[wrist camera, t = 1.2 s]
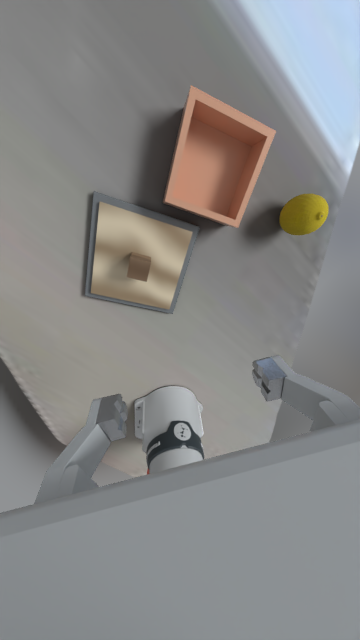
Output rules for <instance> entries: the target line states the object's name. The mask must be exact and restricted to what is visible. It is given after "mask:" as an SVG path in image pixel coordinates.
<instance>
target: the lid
mask: <svg viewBox="0 0 360 640" xmlns="http://www.w3.org/2000/svg"><path fill="white" fill-rule="evenodd" d="M192 233H193V232H191V231H188V230H185V229H182V228H179V227H176V226H173V225H170V224H167V223H164V222H161V221H158V220H155V219H152V218H149V217H146V216H143V215H140V214H137V213H134V212H131V211H128V210H125V209H122V208H118V207H115V206H112V205H109V204H106V203H103V202H100V203H99V213H98V224H97V234H96V244H95V254H94V265H93V275H92V285H91V293H93V294H98V295H103V296H107V297H112V298H117V299H122V300H126V301H131V302H136V303H140V304H145V305H150V306H155V307H159V308H164V309H170V306H171V303H172V299H173V296H174V293H175V289H176V286H177V283H178V279H179V276H180V273H181V269H182V266H183V263H184V259H185V256H186V253H187V250H188V246H189V243H190V240H191V236H192Z"/></svg>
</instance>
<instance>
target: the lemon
mask: <svg viewBox="0 0 360 640" xmlns="http://www.w3.org/2000/svg"><path fill="white" fill-rule="evenodd" d="M327 215H328V204H327V202H326V200H325V199H323V198H322V197H321V196H318V195H315V194H302V195H299V196H296V197H294V198H293V199H291V200H290V201H288V202H287V203H286V204H285V206H284V207H283V209H282V211H281V213H280V219H279V221H280V225H281V227H282V229H283V230H284V231H285V232H287V233H289V234H292V235H304V234H309V233H311V232H313V231H315V230H317V229H318V228H319V227H320V226H321V225H322V224H323V223H324V221H325V220H326V218H327Z"/></svg>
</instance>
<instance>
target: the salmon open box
mask: <svg viewBox="0 0 360 640" xmlns="http://www.w3.org/2000/svg"><path fill="white" fill-rule="evenodd" d="M275 133H276V131H275V130H273V129H271V128H269V127H267V126H266V125H264V124H262V123H260V122H258V121H256V120H255V119H253V118H251V117H249V116H247V115H245V114H243V113H242V112H240V111H238V110H236V109H234V108H232V107H230V106H229V105H227V104H225V103H223V102H221V101H219V100H218V99H216V98H214V97H212V96H210V95H208V94H206V93H205V92H203V91H201V90H199V89H197V88H195V87H193V86H192V85H191V87H190V90H189V93H188V96H187V99H186V102H185V105H184V109H183V113H182V118H181V122H180V126H179V131H178V135H177V140H176V144H175V149H174V153H173V158H172V162H171V167H170V171H169V176H168V180H167V185H166V189H165V194H164V198H163V203H164V204H167V205H170V206H172V207H175V208H178V209H181V210H184V211H186V212H189V213H192V214H195V215H198V216H200V217H203V218H206V219H209V220H212V221H214V222H217V223H220V224H223V225H226V226H231V227H237V228H238V227H239V224H240V221H241V219H242V216H243V214H244V211H245V209H246V206H247V204H248V201H249V199H250V196H251V194H252V191H253V188H254V186H255V183H256V181H257V178H258V176H259V173H260V171H261V168H262V166H263V163H264V161H265V158H266V155H267V153H268V150H269V148H270V145H271V143H272V140H273V138H274V135H275Z"/></svg>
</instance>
